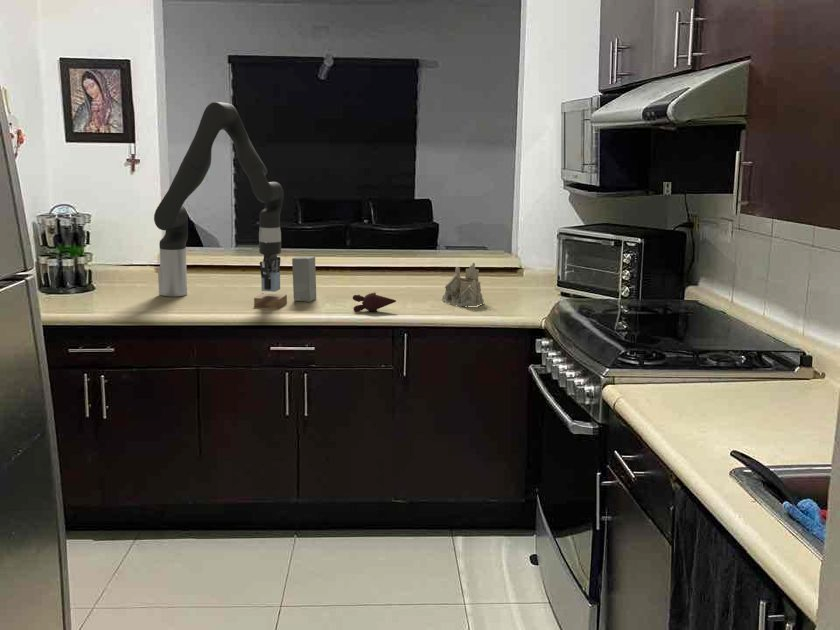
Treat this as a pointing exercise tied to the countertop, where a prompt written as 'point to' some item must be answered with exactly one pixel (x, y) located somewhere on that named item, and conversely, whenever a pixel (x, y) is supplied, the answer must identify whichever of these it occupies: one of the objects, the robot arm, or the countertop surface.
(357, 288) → the countertop surface
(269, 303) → the walnut base
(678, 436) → the countertop surface
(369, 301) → the icecream
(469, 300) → the ceramic cottage
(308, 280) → the skincare box
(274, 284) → the blue block
